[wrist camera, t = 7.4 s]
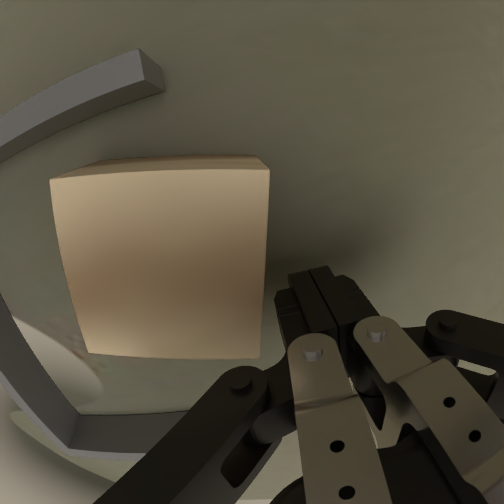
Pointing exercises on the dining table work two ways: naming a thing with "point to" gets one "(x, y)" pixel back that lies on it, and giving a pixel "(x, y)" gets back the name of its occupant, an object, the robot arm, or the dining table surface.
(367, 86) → the dining table surface
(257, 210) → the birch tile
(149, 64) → the bin
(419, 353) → the robot arm
